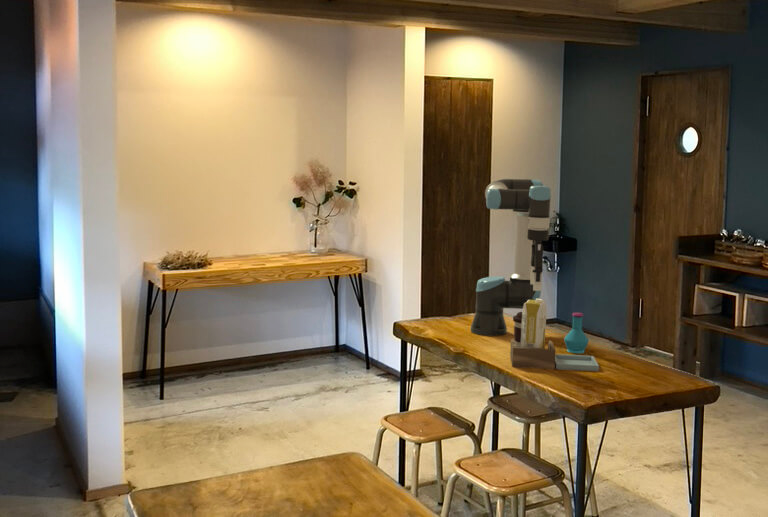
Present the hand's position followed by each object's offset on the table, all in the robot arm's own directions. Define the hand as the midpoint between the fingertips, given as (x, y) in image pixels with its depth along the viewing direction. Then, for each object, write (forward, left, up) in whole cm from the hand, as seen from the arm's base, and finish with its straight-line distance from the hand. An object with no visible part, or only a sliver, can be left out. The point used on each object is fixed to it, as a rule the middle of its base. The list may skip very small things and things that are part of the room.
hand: (535, 287), depth 311 cm
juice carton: (0, 0, -28) cm, 28 cm away
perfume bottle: (-21, +18, -28) cm, 40 cm away
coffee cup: (-17, -2, -28) cm, 33 cm away
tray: (0, +15, -28) cm, 32 cm away
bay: (0, 0, -28) cm, 28 cm away
